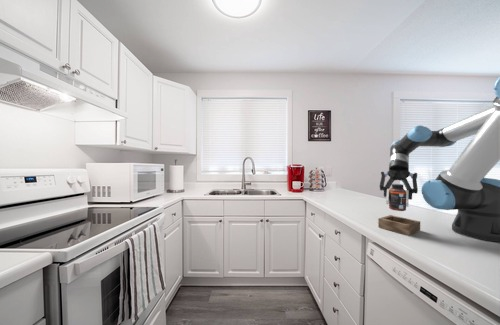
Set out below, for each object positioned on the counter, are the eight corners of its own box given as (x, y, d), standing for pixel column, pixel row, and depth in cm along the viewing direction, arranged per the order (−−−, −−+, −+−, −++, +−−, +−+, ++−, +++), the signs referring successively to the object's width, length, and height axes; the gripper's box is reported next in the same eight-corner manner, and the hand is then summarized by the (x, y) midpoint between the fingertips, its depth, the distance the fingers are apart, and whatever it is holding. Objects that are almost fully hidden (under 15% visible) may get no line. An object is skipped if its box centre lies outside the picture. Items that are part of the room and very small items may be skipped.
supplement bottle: (406, 212, 78) (406, 185, 77) (388, 210, 81) (389, 184, 81) (405, 209, 82) (405, 184, 82) (389, 207, 86) (389, 183, 86)
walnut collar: (420, 230, 79) (420, 221, 79) (408, 235, 73) (408, 225, 73) (390, 223, 88) (390, 215, 88) (378, 227, 83) (378, 218, 83)
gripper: (424, 170, 87) (427, 212, 75) (376, 169, 99) (371, 205, 87) (425, 159, 83) (428, 201, 71) (375, 159, 95) (369, 195, 83)
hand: (397, 203), depth 79 cm, fingers closed on supplement bottle, 6 cm apart
